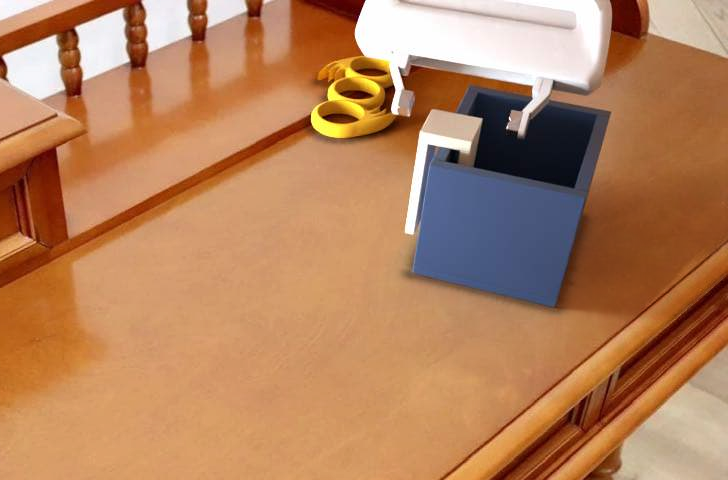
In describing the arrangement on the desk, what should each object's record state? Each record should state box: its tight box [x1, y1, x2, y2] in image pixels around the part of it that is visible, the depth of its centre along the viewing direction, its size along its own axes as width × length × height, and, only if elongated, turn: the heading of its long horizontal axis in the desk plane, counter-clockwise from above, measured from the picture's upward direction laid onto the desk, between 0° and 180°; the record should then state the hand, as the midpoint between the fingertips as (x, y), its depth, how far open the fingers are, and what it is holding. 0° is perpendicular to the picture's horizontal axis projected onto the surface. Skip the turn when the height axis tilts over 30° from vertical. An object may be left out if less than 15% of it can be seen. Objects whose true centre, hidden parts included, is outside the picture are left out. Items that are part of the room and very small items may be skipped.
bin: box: [412, 84, 612, 308], centre depth 93 cm, size 14×12×11 cm
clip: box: [404, 108, 483, 236], centre depth 92 cm, size 4×4×10 cm
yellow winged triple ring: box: [310, 54, 398, 139], centre depth 115 cm, size 17×2×10 cm
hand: (456, 124), depth 90 cm, fingers open, 8 cm apart
